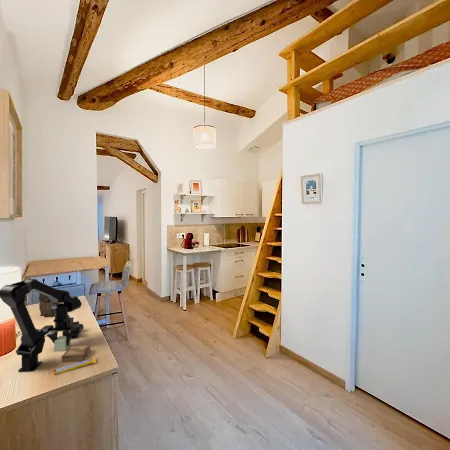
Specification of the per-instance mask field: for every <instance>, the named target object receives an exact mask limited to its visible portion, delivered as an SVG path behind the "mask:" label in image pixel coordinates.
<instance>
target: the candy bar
mask: <svg viewBox="0 0 450 450" xmlns="http://www.w3.org/2000/svg"><path fill="white" fill-rule="evenodd" d="M96 363H97V360H96V357H95V358H92V359H91V358H90V359H86V360H83V361H78V362H75V363H73V364H69V365H66V366H62V367H59V368H56V367H55V368H54V370H52V372H53V375H54V376H58V375H61V374H64V373H68V372H71V371H75V370H78V369H82V368H85V367H88V366H91V365H93V364H96Z"/></svg>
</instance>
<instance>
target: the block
mask: <svg viewBox="0 0 450 450" xmlns="http://www.w3.org/2000/svg"><path fill="white" fill-rule="evenodd" d="M54 342H55V344H54V351H55V352H61V351H67V350H68V349H69V348H70V347H71V343H70V344H69V346H67V341H66V336H63V335H61V336H58V338H57V339H56V340H55V341H54Z"/></svg>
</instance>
